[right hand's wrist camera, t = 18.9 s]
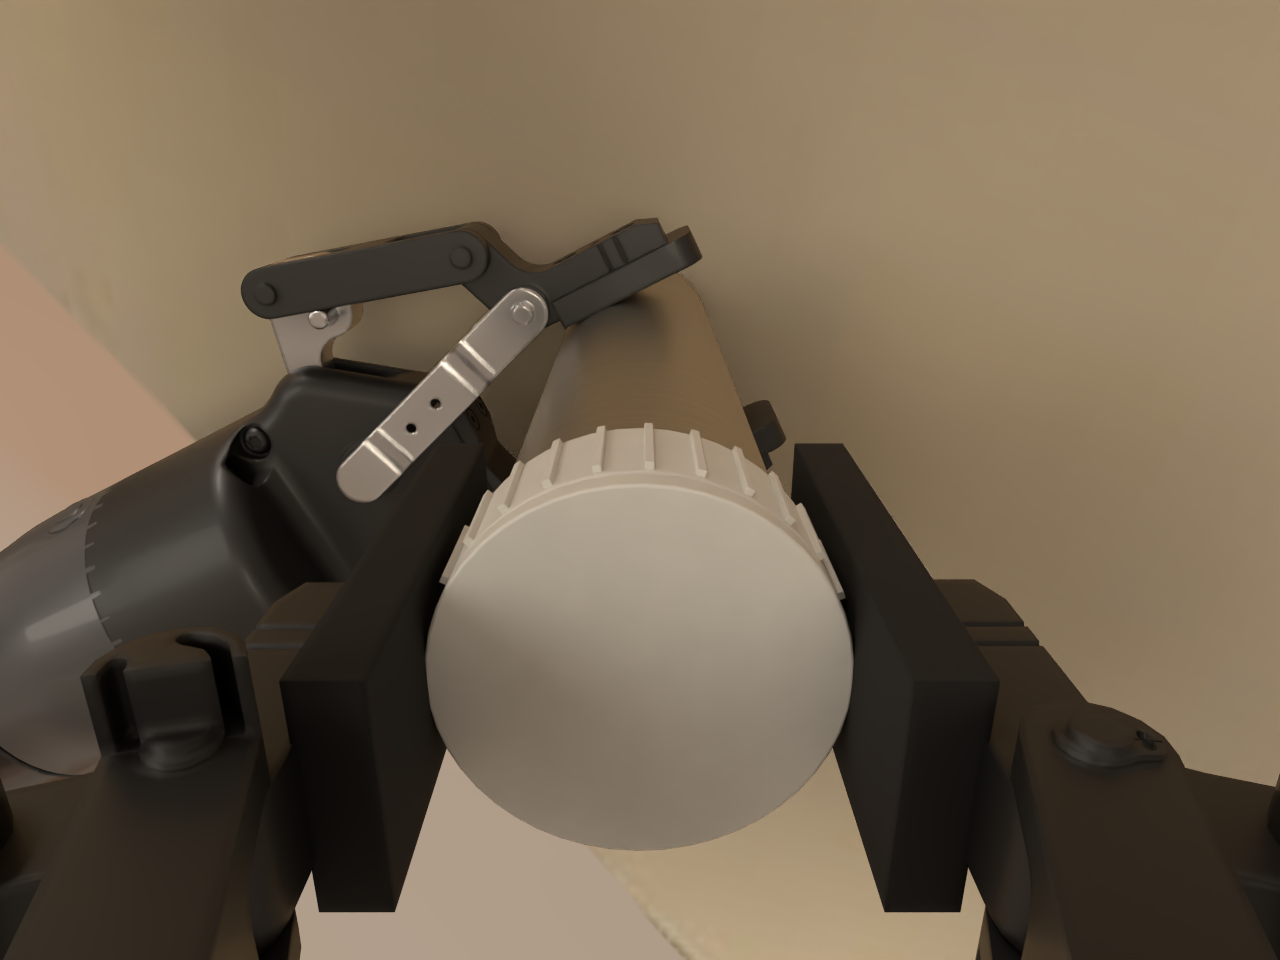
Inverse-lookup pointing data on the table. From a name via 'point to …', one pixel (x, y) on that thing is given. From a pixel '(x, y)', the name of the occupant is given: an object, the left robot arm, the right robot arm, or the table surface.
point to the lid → (639, 642)
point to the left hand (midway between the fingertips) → (734, 335)
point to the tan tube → (642, 375)
